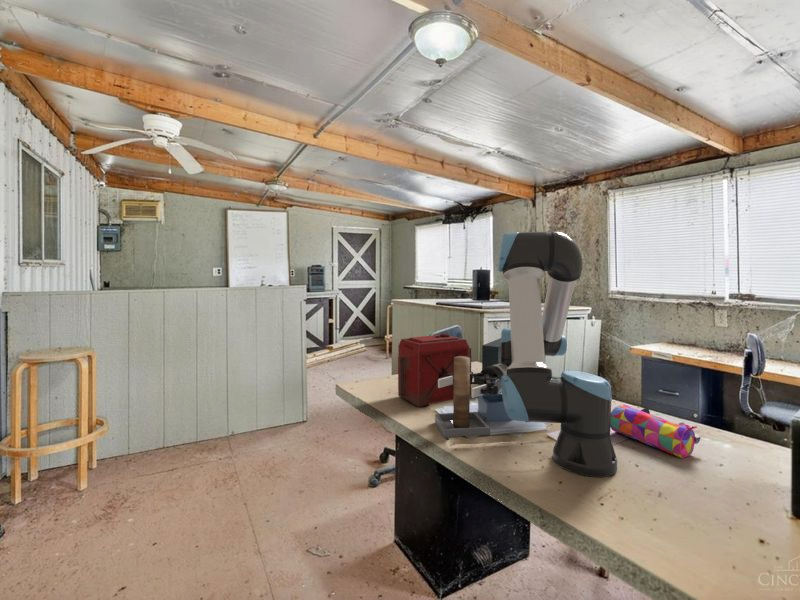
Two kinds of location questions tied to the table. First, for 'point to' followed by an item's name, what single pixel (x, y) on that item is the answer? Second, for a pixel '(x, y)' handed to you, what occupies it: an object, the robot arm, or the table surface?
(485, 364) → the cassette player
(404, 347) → the jerry can
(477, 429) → the tray
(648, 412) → the electric trimmer
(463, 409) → the dowel
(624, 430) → the pencil case
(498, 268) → the robot arm
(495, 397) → the open box
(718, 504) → the table surface
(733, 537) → the table surface
